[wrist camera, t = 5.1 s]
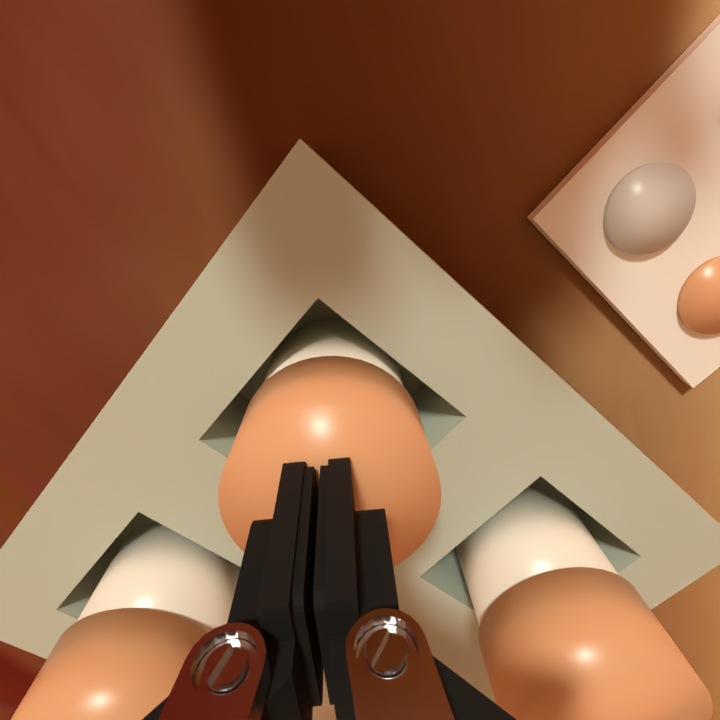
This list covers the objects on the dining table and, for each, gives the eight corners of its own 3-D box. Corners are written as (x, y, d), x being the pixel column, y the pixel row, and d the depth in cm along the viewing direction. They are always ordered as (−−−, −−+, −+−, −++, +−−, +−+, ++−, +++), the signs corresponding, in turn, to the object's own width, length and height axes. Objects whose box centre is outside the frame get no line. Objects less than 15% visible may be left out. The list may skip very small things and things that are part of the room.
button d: (276, 559, 19) (242, 765, 12) (202, 630, 20) (137, 848, 14) (157, 492, 17) (46, 689, 11) (87, 576, 18) (-48, 792, 12)
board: (660, 468, 22) (744, 547, 17) (369, 690, 28) (375, 792, 23) (311, 148, 16) (299, 138, 11) (32, 524, 22) (-51, 619, 17)
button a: (609, 529, 19) (750, 717, 12) (510, 602, 20) (590, 804, 14) (523, 460, 17) (634, 635, 11) (423, 545, 19) (467, 743, 12)
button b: (433, 373, 18) (486, 490, 11) (343, 463, 19) (344, 611, 13) (323, 283, 16) (312, 360, 10) (234, 390, 18) (173, 517, 11)
